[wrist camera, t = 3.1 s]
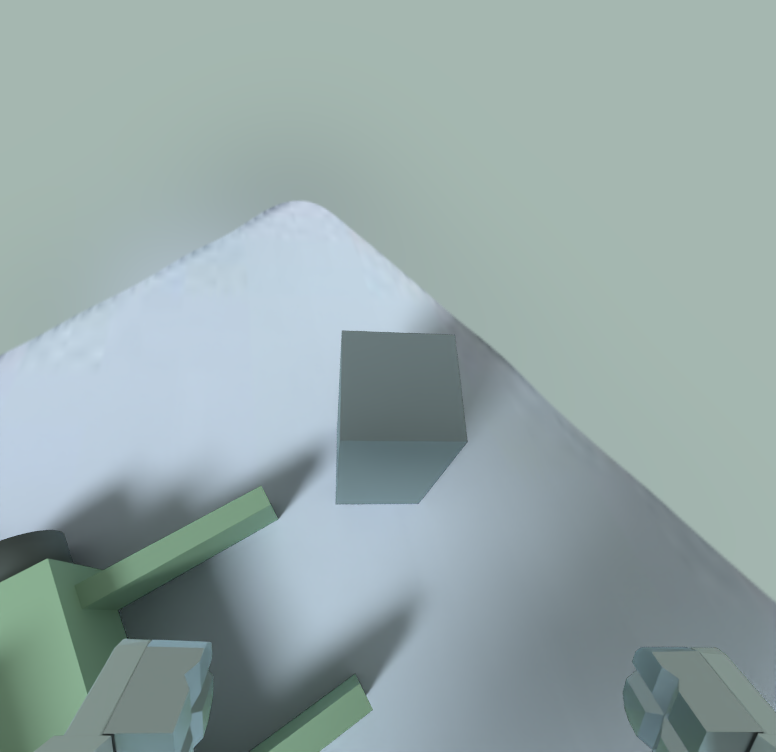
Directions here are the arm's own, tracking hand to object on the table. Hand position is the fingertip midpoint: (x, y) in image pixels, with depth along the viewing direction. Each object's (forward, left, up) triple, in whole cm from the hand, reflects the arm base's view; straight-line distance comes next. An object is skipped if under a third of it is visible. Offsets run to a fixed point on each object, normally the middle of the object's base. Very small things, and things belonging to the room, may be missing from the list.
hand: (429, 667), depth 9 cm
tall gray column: (+7, -5, -15) cm, 17 cm away
